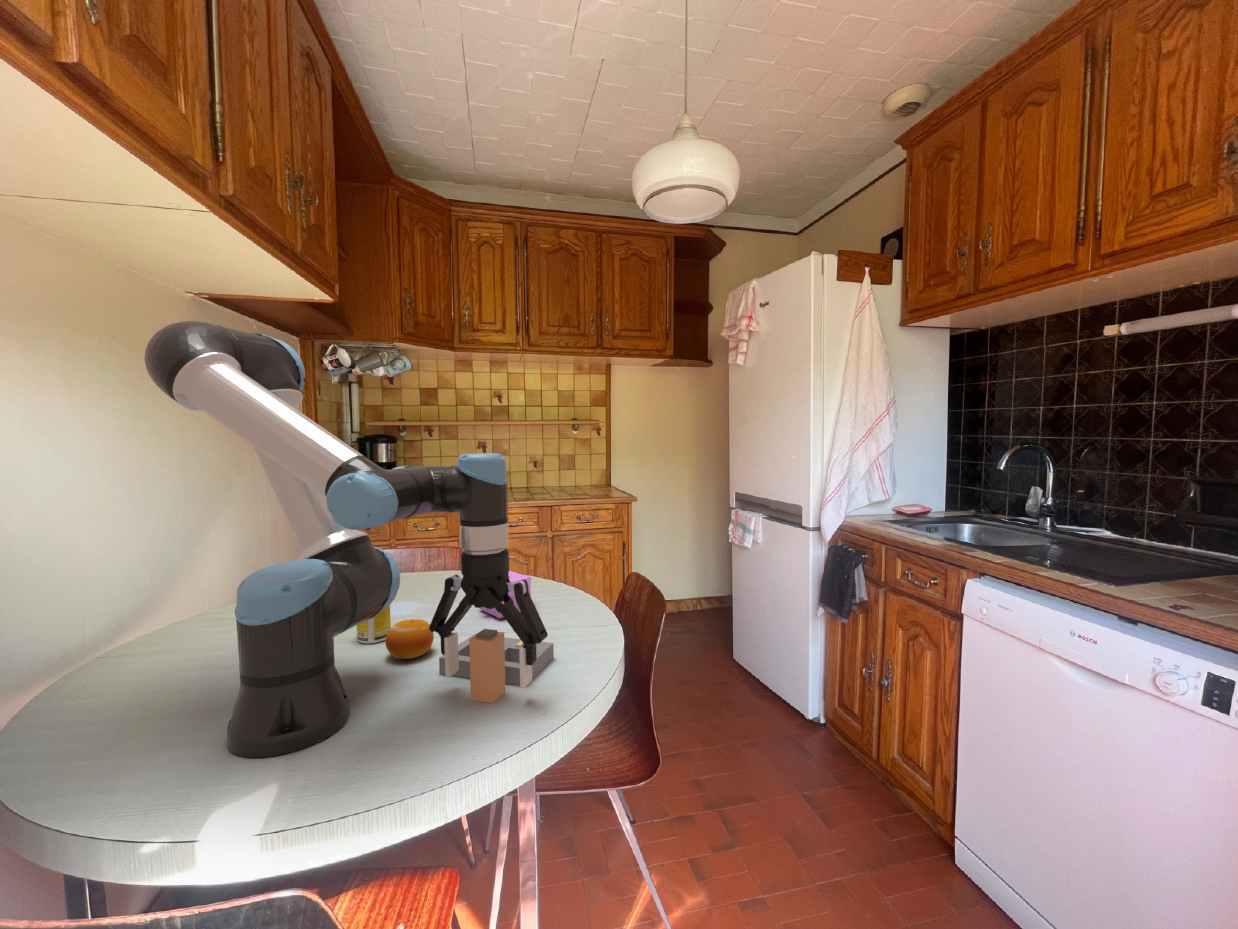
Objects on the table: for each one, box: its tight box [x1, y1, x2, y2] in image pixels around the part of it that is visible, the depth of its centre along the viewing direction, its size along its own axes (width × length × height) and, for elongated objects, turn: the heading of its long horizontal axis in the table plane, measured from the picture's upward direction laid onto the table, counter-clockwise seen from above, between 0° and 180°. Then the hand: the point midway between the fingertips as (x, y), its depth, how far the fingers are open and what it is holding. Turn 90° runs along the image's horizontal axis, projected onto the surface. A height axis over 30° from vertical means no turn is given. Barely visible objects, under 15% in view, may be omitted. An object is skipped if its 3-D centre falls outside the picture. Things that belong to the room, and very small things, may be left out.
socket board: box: [438, 633, 555, 686], centre depth 96 cm, size 12×17×3 cm
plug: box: [469, 628, 506, 704], centre depth 85 cm, size 4×4×11 cm
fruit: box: [384, 618, 435, 660], centre depth 101 cm, size 8×8×8 cm
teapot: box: [478, 570, 532, 619], centre depth 126 cm, size 18×14×10 cm
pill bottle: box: [356, 604, 392, 644], centre depth 109 cm, size 6×6×12 cm
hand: (488, 678), depth 85 cm, fingers open, 13 cm apart
